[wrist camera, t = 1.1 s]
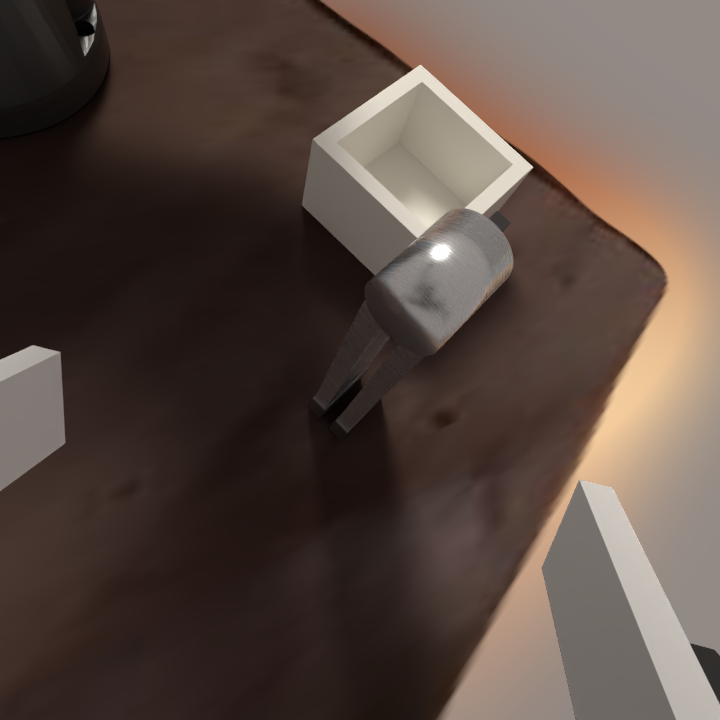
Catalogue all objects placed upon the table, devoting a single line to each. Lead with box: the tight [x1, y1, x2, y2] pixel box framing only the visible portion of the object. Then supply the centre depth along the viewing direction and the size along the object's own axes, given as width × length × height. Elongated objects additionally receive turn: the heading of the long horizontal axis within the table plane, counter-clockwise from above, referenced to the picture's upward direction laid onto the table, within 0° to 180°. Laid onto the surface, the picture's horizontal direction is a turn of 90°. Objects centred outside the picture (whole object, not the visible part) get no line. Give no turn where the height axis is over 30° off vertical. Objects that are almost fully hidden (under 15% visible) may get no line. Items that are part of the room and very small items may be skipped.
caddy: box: [302, 65, 533, 275], centre depth 34 cm, size 10×10×6 cm
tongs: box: [308, 208, 513, 440], centre depth 24 cm, size 3×5×18 cm, turn 137°
